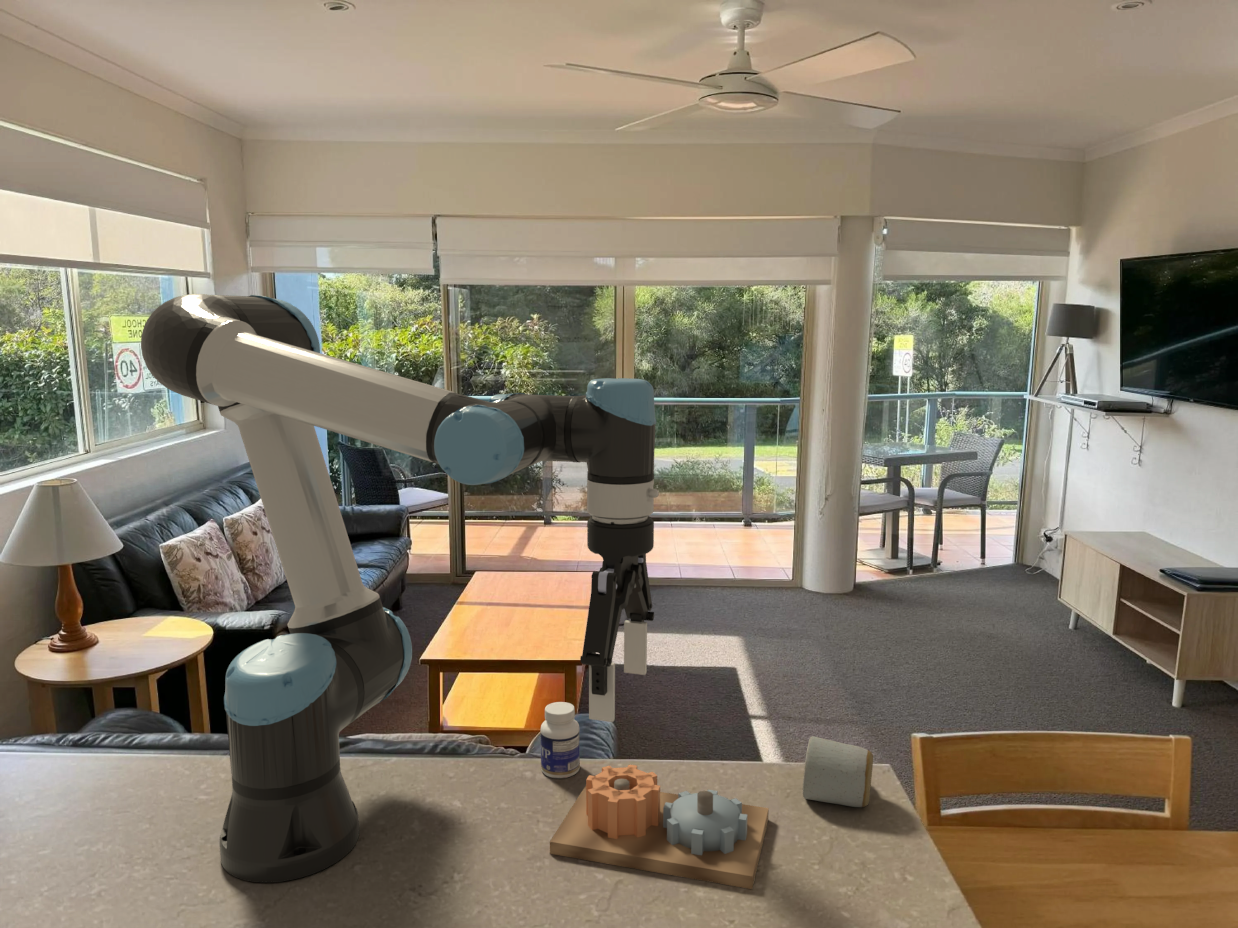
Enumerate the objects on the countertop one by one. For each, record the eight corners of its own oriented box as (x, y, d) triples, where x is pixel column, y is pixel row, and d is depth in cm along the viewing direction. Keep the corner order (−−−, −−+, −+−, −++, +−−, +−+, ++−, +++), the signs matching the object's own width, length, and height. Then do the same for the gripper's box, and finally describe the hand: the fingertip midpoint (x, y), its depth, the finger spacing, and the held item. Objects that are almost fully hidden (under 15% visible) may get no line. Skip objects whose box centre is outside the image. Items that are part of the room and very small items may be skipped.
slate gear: (654, 847, 99) (654, 826, 99) (673, 803, 108) (673, 784, 108) (739, 861, 97) (740, 840, 96) (752, 815, 106) (752, 795, 105)
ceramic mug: (869, 820, 107) (872, 760, 106) (801, 809, 110) (803, 750, 109) (872, 779, 117) (875, 724, 116) (809, 770, 120) (812, 716, 119)
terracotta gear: (575, 831, 102) (575, 795, 102) (599, 793, 111) (598, 759, 110) (649, 844, 100) (649, 807, 99) (667, 804, 108) (667, 769, 107)
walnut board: (549, 853, 101) (549, 804, 100) (588, 791, 114) (588, 748, 113) (752, 889, 94) (753, 837, 93) (768, 819, 107) (769, 773, 107)
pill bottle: (537, 763, 121) (536, 702, 120) (574, 757, 123) (573, 697, 122) (545, 781, 116) (544, 718, 115) (584, 775, 118) (583, 713, 117)
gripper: (621, 544, 87) (620, 747, 90) (677, 497, 110) (675, 659, 114) (549, 539, 89) (551, 737, 92) (620, 494, 113) (619, 653, 116)
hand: (619, 694), depth 103 cm, fingers open, 13 cm apart
